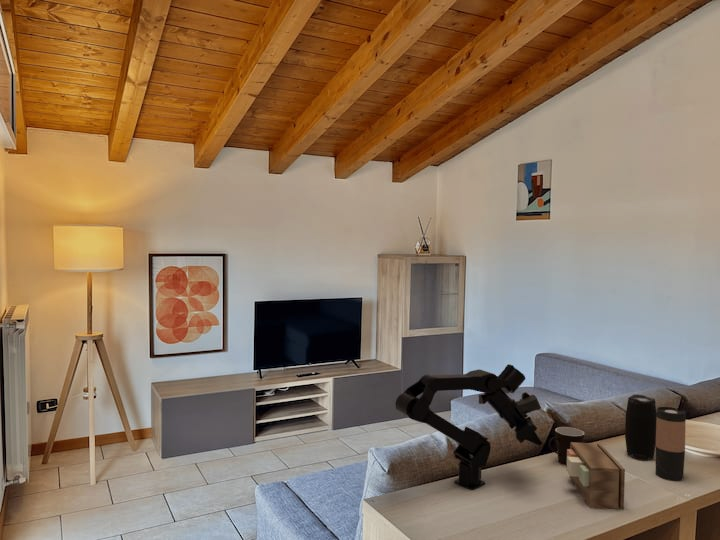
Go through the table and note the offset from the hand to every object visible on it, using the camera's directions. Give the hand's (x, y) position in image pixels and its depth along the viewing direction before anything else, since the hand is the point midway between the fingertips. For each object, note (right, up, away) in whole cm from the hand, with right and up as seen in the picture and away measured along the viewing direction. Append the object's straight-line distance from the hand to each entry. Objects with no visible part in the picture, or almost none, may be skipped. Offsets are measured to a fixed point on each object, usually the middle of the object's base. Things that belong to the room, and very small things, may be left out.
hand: (541, 444), depth 156 cm
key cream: (+9, -6, -7) cm, 12 cm away
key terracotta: (+11, -6, -1) cm, 12 cm away
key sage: (+10, -6, -13) cm, 17 cm away
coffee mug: (+12, -11, +15) cm, 22 cm away
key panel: (+13, -11, -7) cm, 18 cm away
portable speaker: (+40, -11, +20) cm, 46 cm away
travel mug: (+40, -11, +5) cm, 42 cm away
